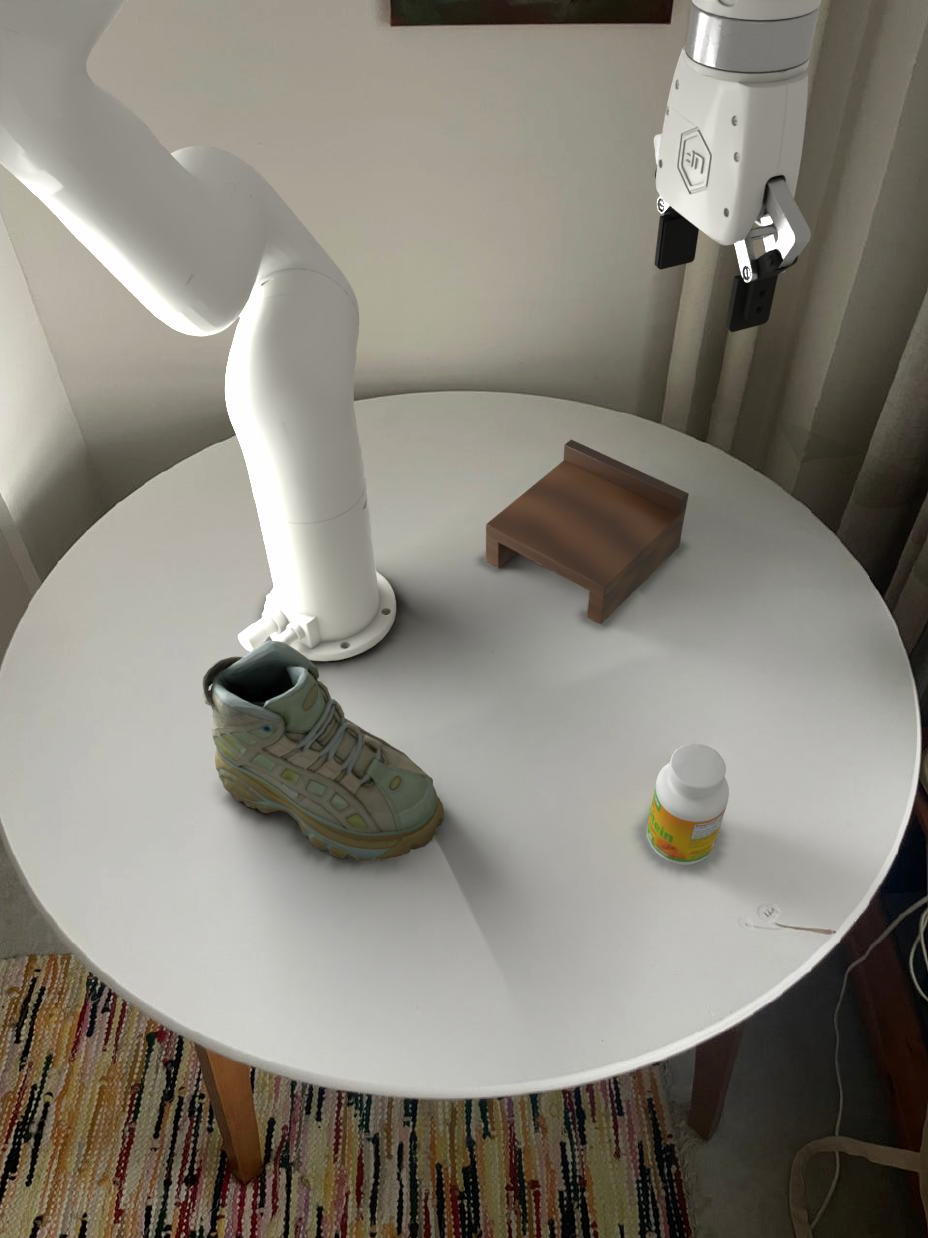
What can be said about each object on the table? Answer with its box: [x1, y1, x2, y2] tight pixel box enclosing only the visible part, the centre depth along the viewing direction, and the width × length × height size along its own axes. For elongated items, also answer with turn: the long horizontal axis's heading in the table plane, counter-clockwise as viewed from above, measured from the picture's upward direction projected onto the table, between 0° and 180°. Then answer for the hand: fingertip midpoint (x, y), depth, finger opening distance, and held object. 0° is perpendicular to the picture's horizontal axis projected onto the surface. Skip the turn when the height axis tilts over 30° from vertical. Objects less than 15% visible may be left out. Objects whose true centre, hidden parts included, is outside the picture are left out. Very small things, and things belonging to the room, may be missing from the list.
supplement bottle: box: [646, 742, 730, 866], centre depth 78 cm, size 5×5×10 cm
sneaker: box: [201, 639, 445, 862], centre depth 79 cm, size 11×19×15 cm, turn 53°
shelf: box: [485, 439, 689, 625], centre depth 101 cm, size 14×14×7 cm
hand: (708, 293), depth 75 cm, fingers open, 9 cm apart
